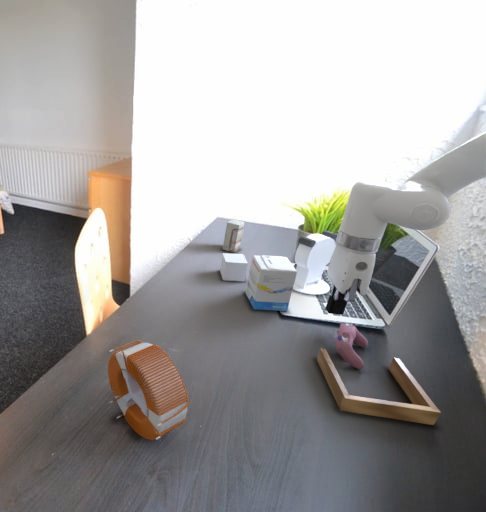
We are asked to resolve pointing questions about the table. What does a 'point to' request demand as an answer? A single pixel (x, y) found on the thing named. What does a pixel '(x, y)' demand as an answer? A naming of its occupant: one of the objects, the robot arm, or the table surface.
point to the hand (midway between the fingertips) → (333, 311)
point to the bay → (416, 412)
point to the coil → (147, 389)
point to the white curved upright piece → (313, 262)
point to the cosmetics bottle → (233, 235)
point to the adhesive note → (233, 267)
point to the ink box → (270, 282)
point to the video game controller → (350, 344)
